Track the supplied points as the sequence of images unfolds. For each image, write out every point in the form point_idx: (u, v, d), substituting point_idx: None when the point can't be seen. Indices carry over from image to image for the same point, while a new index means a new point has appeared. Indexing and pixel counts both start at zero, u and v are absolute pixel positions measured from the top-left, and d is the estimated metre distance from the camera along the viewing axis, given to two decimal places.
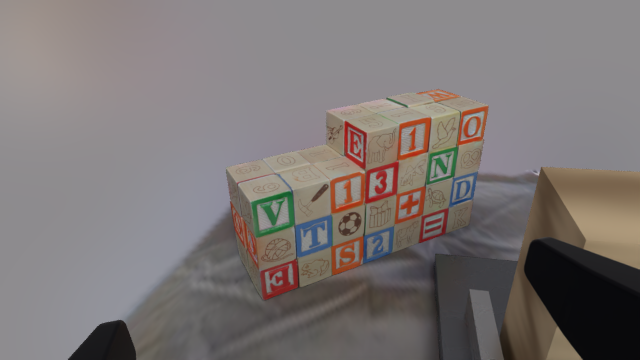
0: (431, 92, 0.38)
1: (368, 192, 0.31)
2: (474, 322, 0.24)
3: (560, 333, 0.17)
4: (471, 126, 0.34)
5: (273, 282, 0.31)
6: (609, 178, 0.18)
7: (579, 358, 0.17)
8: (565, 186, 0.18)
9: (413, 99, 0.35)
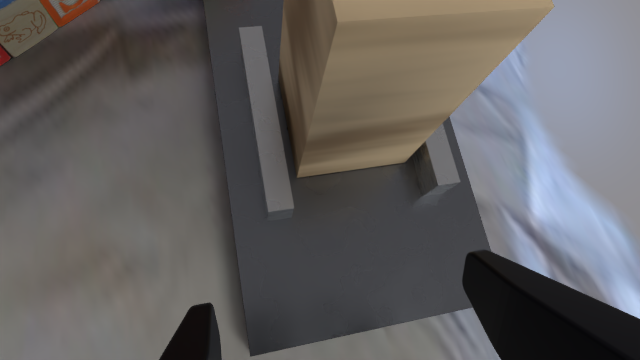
0: None
1: None
2: (246, 74, 0.20)
3: (319, 113, 0.14)
4: None
5: None
6: None
7: (340, 126, 0.16)
8: None
9: None
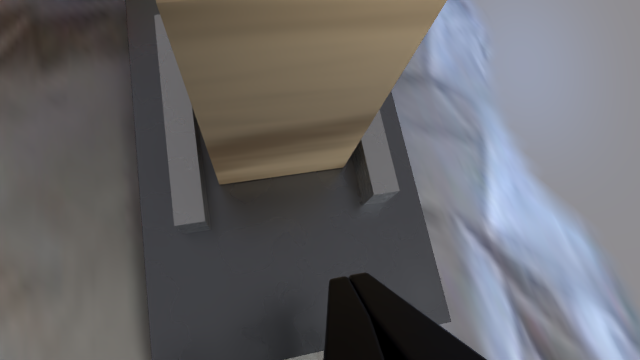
0: None
1: None
2: None
3: (203, 116, 0.12)
4: None
5: None
6: None
7: (240, 130, 0.13)
8: None
9: None
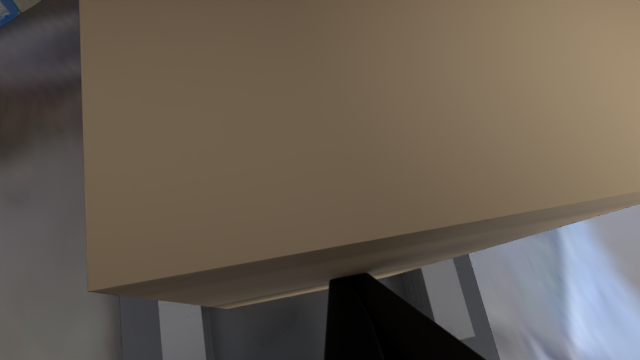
0: None
1: None
2: None
3: (206, 303, 0.07)
4: None
5: None
6: None
7: (263, 294, 0.09)
8: None
9: None
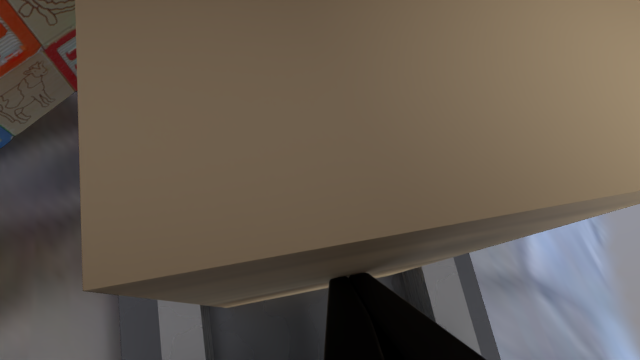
0: None
1: None
2: None
3: (205, 302, 0.07)
4: None
5: None
6: None
7: (263, 293, 0.09)
8: None
9: None
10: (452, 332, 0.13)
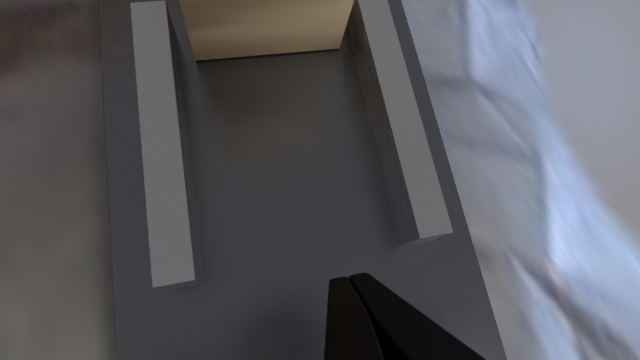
0: None
1: None
2: None
3: None
4: None
5: None
6: None
7: None
8: None
9: None
10: (387, 68, 0.15)
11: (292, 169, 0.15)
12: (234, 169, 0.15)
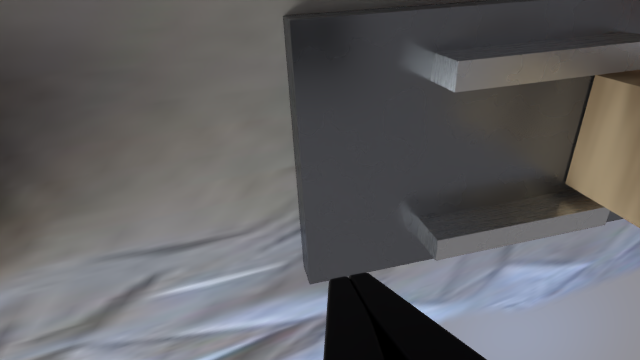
0: None
1: None
2: (614, 44, 0.17)
3: None
4: None
5: None
6: None
7: None
8: None
9: None
10: (550, 225, 0.21)
11: (490, 147, 0.20)
12: (503, 104, 0.19)
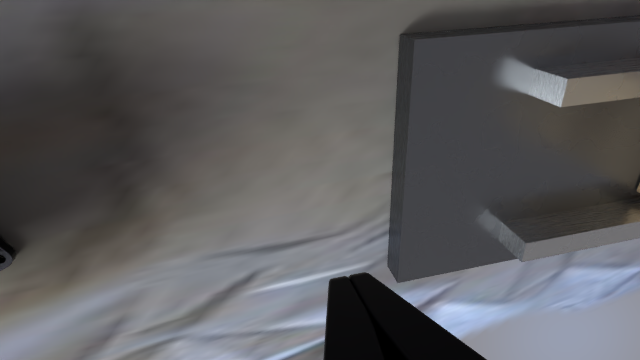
0: None
1: None
2: None
3: None
4: None
5: None
6: None
7: None
8: None
9: None
10: (627, 230, 0.22)
11: (574, 156, 0.21)
12: (590, 116, 0.20)
